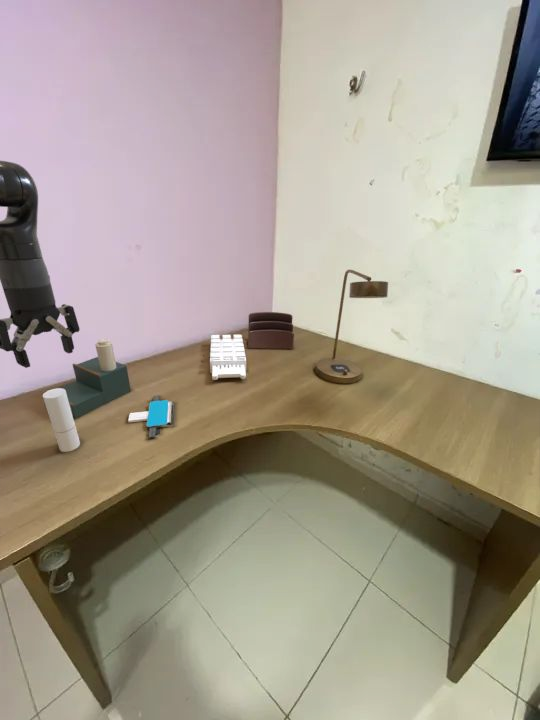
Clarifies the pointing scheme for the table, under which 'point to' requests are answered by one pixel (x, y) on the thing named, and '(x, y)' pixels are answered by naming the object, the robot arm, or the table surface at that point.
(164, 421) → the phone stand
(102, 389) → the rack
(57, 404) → the tube
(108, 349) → the cream capped cylinder
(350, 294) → the lamp
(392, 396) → the table surface
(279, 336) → the letter holder
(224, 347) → the organizer
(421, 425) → the table surface
